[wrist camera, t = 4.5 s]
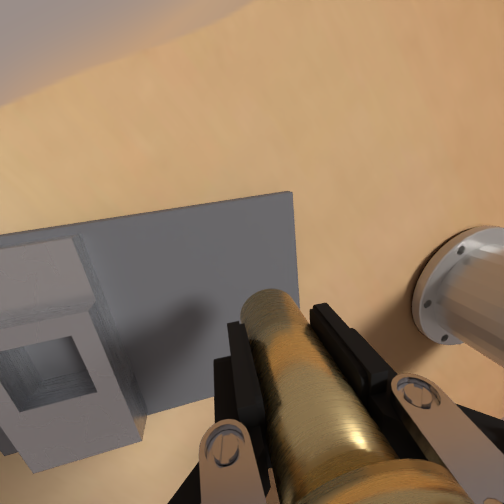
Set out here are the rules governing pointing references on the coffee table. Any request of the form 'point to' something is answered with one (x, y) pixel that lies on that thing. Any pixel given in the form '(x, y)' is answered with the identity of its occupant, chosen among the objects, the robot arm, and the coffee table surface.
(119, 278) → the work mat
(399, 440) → the robot arm
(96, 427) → the grey slotted housing block
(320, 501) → the pin
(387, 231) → the coffee table surface
